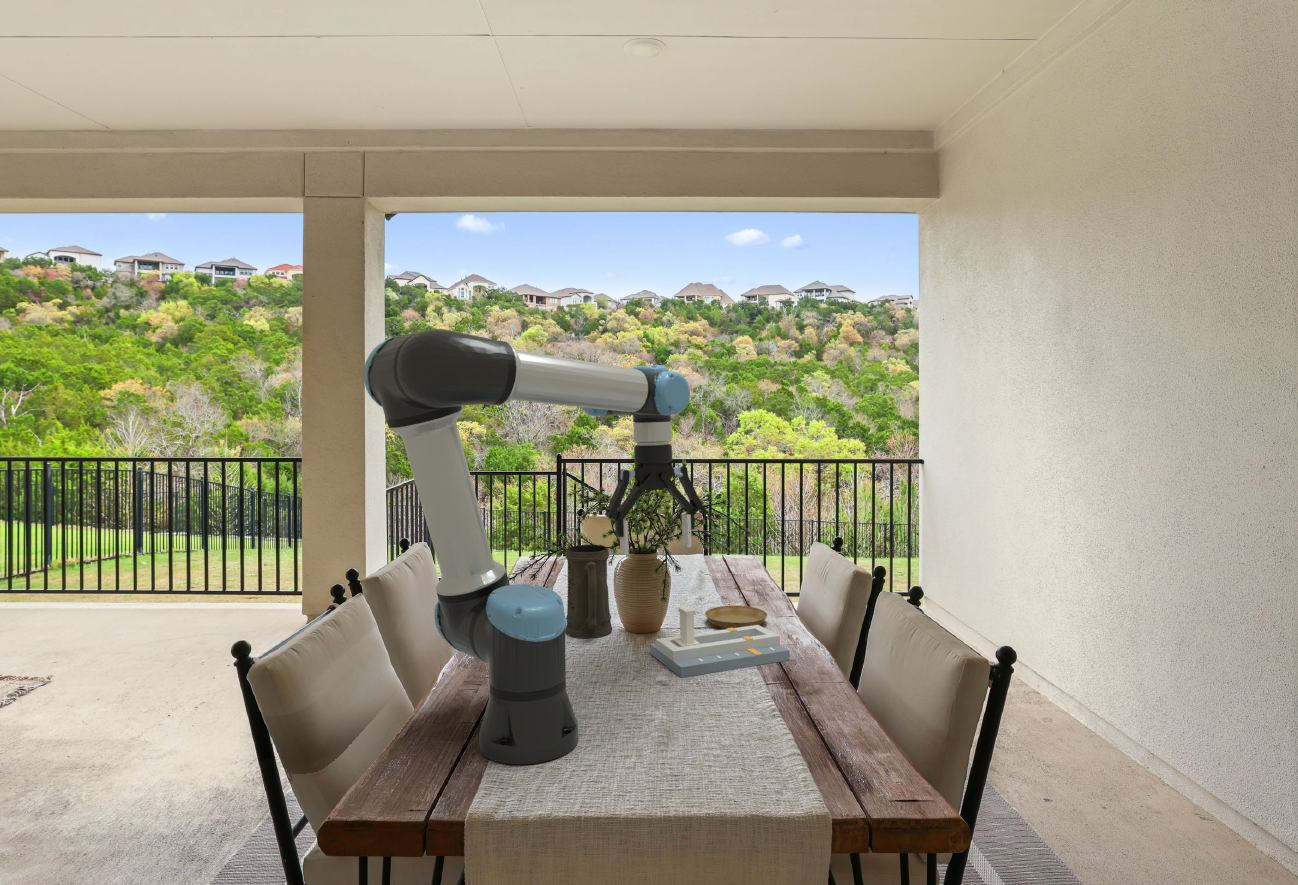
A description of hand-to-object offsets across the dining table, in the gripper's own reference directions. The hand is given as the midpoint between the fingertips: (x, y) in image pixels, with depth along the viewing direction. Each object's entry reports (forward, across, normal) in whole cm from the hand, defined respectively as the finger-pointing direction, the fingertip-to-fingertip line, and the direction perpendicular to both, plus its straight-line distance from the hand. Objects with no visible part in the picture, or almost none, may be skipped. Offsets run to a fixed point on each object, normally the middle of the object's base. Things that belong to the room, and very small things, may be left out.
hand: (656, 549), depth 151 cm
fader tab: (+21, -5, +2) cm, 22 cm away
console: (+23, -12, +2) cm, 26 cm away
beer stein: (+23, +6, -24) cm, 34 cm away
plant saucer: (+24, -28, -18) cm, 41 cm away
